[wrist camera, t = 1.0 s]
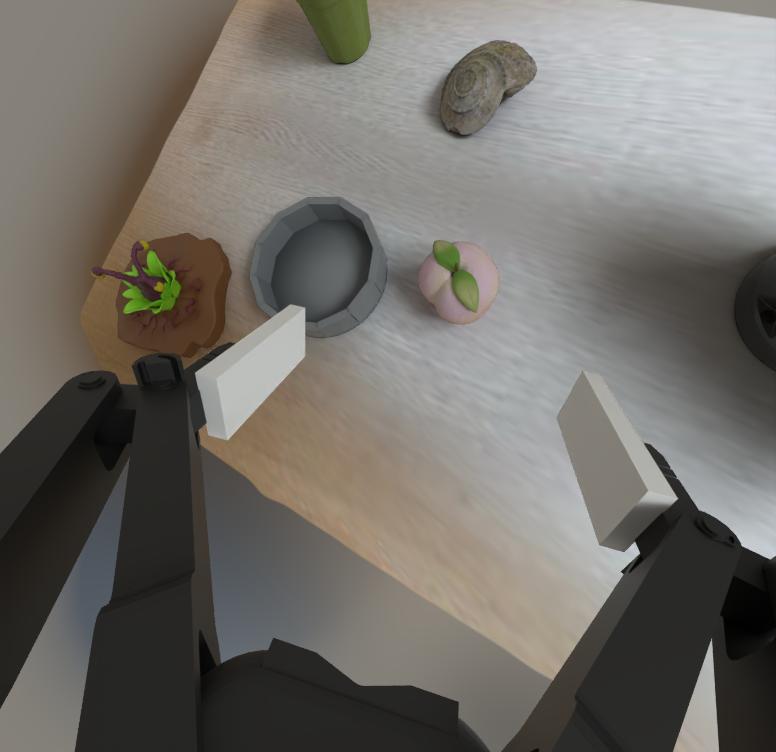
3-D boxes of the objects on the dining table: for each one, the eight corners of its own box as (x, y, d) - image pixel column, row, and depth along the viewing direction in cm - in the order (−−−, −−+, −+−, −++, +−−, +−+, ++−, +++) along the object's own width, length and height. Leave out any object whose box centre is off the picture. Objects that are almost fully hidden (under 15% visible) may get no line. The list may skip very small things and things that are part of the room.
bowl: (320, 196, 49) (305, 174, 45) (413, 257, 44) (408, 240, 40) (248, 292, 50) (227, 280, 45) (332, 363, 45) (318, 357, 41)
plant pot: (300, 63, 53) (257, -28, 42) (344, 2, 53) (313, -106, 42) (353, 91, 50) (322, 0, 39) (401, 26, 50) (383, -84, 39)
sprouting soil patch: (141, 242, 57) (64, 200, 46) (238, 237, 52) (179, 189, 41) (120, 356, 54) (34, 340, 44) (220, 362, 50) (152, 346, 39)
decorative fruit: (510, 305, 41) (524, 269, 31) (456, 345, 42) (453, 322, 32) (463, 251, 43) (463, 203, 33) (413, 290, 44) (398, 254, 34)
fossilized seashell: (441, 62, 45) (458, 11, 38) (514, 74, 47) (542, 26, 40) (436, 143, 46) (452, 107, 39) (508, 152, 47) (535, 119, 40)
